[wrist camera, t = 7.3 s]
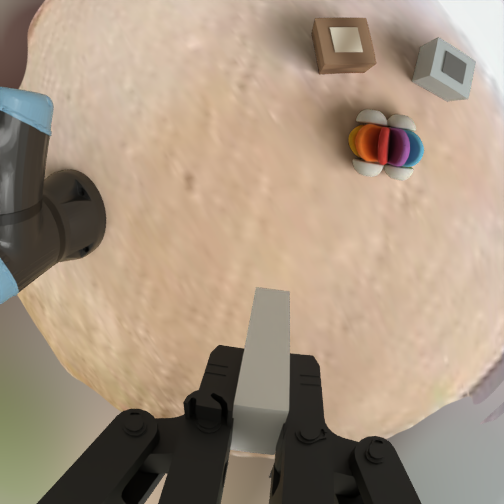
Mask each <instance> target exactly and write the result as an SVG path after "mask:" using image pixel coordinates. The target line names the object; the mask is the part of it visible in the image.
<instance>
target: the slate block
mask: <svg viewBox="0 0 504 504" xmlns="http://www.w3.org/2000/svg"><path fill="white" fill-rule="evenodd" d="M475 63H476V61H474V60H473V59H472V58H470V57H469V56H467V55H466V54H464V53H463V52H461V51H460V50H458V49H457V48H455V47H454V46H452V45H451V44H449V43H447V42H446V41H444V40H442V39H441V38H439V37H438V38H436V39H434V40H432V41H430V42H429V43H427V44H425V45H423V46H422V47H420V51H419V55H418V59H417V63H416V67H415V71H414V75H413V79H412V82H413V83H415V84H417V85H419V86H421V87H423V88H424V89H426V90H428V91H430V92H432V93H433V94H435V95H437V96H438V97H440V98H442V99H444V100H445V101H455V100H465V99H468V98H469V93H470V89H471V84H472V79H473V74H474V68H475Z"/></svg>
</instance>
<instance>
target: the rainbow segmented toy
mask: <svg viewBox="0 0 504 504" xmlns="http://www.w3.org/2000/svg"><path fill="white" fill-rule="evenodd" d="M356 122H359V123H364V124H363V125H359V126H357V127H356V128H354V129H353V130H352V131H351V133H350V135H349V139H348V141H349V146H350V148H351V150H352V151H353V153H354V154H355V155H356V156H357V157H359V158H363V159H364V160H363V159H353V166H354V168H355V170H356V171H357V172H358V173H359V174H361V175H364V176H370V177H374V176H376V175H378V174H379V173H380V172H381V171H382V169H383V165H384V169H385V171H386V173H387V175H388V176H389V177H390V178H392V179H396V180H406V179H408V178H409V177H410V176H411V175H412V173H413V170H414V169H413V168H412V167H411V166H414V165H416V164H417V163H418V162H419V161H420V160H421V158H422V156H423V153H424V147H423V144H422V141H421V139H420V138H419V137H418V136H417V135H416V134H415V133H414V132H412V131H416V126H415V124H414V122H413V120H412V119H411V118H410V117H408V116H405V115H399V114H394V115H392V116H391V117H390V118H389V119H388V120H386V118H385V116H384V115H383V114H382V113H381V112H380V111H377V110H371V109H365V110H363V111H361V112H360V113H359V114H358V116H357V118H356ZM388 127H390V128H388Z"/></svg>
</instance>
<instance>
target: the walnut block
mask: <svg viewBox="0 0 504 504" xmlns="http://www.w3.org/2000/svg"><path fill="white" fill-rule="evenodd" d="M312 39H313V43H314V48H315V53H316V58H317V64H318V69H319V74H335V73H365V72H366V71H367V70H368V69H370V68H371V67H372V66H374V65H375V64H376V58H375V54H374V49H373V44H372V40H371V36H370V32H369V28H368V24H367V20H366V18H315V21H314V25H313V29H312Z"/></svg>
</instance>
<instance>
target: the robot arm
mask: <svg viewBox="0 0 504 504" xmlns="http://www.w3.org/2000/svg"><path fill="white" fill-rule="evenodd" d="M53 108H54V107H53V102H52V100H51V99H50V97H48V96H47V95H44V94H40V93H36V92H30V91H25V90H19V89H13V88H6V87H0V304H1V303H3V302H5V301H6V300H8V299H9V298H11V297H12V296H16V295H17V294H18V293H19V292H20V291H21V290H23V289H24V288H25V287H26V286H28V285H29V284H30V283H31V282H33V281H34V280H35V279H37V278H38V277H39V276H40V275H42V274H43V273H44V272H46V271H47V270H48V269H50V268H51V267H52V266H54V265H55V264H56V263H58V262H63V261H69V260H75V259H80V258H83V257H85V256H87V255H88V254H89V253H91V252H92V251H94V250H95V249H96V248H97V247H98V246H99V244H100V243H101V241H102V239H103V236H104V233H105V228H106V213H105V207H104V203H103V200H102V198H101V195H100V193H99V191H98V189H97V188H96V186H95V185H94V183H93V182H92V181H91V180H90V179H89V178H88V177H87V176H85V175H84V174H82V173H81V172H78V171H76V170H63V171H59V172H56V173H53V174H52V175H50V176H48V177H47V178H46V179H45V180H44V175H45V166H46V158H47V151H48V145H49V139H50V136H51V122H52V115H53ZM183 403H184V411H185V414H184V415H182V416H179V417H175V418H154V416H152V415H151V414H150V413H149V412H147V411H144V410H141V409H129V410H126V411H123V412H121V413H120V414H119V415H117V416H116V418H115V419H114V420H113V421H112V422H111V423H110V424H109V425H108V426H107V428H106V429H105V430H104V431H103V432H102V433H101V434H100V435H99V437H97V438H96V440H95V441H94V442H93V443H92V444H91V445H90V446H89V447H88V448H87V449H86V451H85V452H84V453H83V454H82V455H81V456H80V457H79V458H78V459H77V461H76V462H75V463H74V464H73V465H72V466H71V467H70V468H69V469H68V470H67V471H66V472H65V474H64V475H63V476H62V477H61V478H60V479H59V480H58V481H57V482H56V483H55V484H54V486H53V487H52V488H51V489H50V490H49V491H48V492H47V493H46V494H45V495H44V496H43V497H42V499H41V500H40V501H39V502H38V503H37V504H144V503H145V502H146V500H147V499H148V498H149V496H150V495H151V493H152V492H153V491H154V489H155V487H156V486H157V485H158V483H159V482H160V480H161V479H162V478H163V476H164V475H165V473H168V474H167V477H166V480H165V484H164V487H163V490H162V493H161V497H160V499H159V503H158V504H221V499H222V493H223V488H224V483H225V477H226V472H227V466H228V458H229V453H230V450H236V451H244V452H251V453H260V454H270V455H274V454H275V463H274V465H273V468H272V470H271V473H270V476H269V477H270V478H271V489H270V499H269V504H421V502H420V500H419V498H418V495H417V493H416V491H415V489H414V487H413V485H412V483H411V481H410V479H409V477H408V475H407V473H406V471H405V469H404V466H403V464H402V463H401V460H400V458H399V457H398V454H397V452H396V450H395V448H394V447H393V446H392V444H391V443H390V442H389V441H387V440H386V439H384V438H381V437H377V436H371V437H366V438H364V439H362V440H361V441H360V442H356V441H353V440H349V439H345V438H342V437H340V436H337V435H336V434H334V433H333V432H332V431H331V430H330V429H329V428H328V427H327V425H326V423H325V419H324V410H323V398H322V387H321V378H320V366H319V364H318V363H317V361H316V359H315V358H314V356H311V355H300V354H290V291H283V290H275V289H267V288H259V287H256V290H255V295H254V301H253V306H252V311H251V317H250V322H249V327H248V333H247V338H246V343H245V348H244V349H243V348H236V347H229V346H223V345H218V346H217V347H216V348H215V349H214V350H213V351H212V352H211V354H210V357H209V360H208V363H207V366H206V369H205V373H204V376H203V379H202V382H201V385H200V388H199V390H198V391H194V392H193V393H191V394H190V395H188V396H187V397H186V399H185V401H184V402H183ZM275 451H276V452H275Z"/></svg>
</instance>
